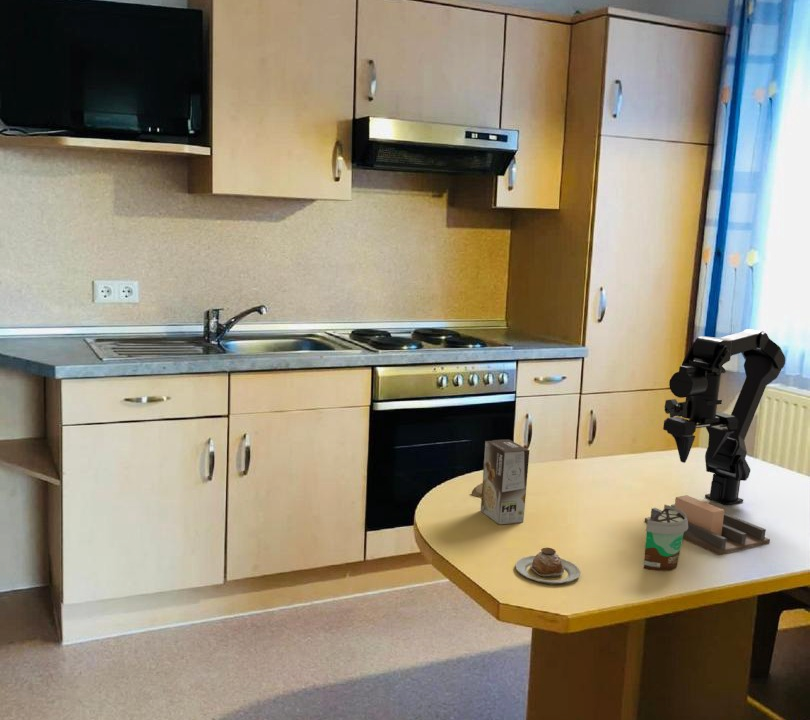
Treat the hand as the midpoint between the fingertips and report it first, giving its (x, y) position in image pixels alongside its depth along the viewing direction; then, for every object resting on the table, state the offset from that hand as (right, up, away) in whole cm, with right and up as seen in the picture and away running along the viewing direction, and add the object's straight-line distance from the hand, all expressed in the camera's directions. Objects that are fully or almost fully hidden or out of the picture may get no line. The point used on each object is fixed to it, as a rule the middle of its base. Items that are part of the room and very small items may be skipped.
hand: (696, 460), depth 201 cm
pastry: (-40, -17, -37) cm, 57 cm away
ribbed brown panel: (-2, -14, -11) cm, 18 cm away
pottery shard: (-45, -9, +4) cm, 46 cm away
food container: (-16, -17, -30) cm, 38 cm away
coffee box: (-45, -11, -9) cm, 48 cm away
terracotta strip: (-4, -14, -13) cm, 19 cm away
